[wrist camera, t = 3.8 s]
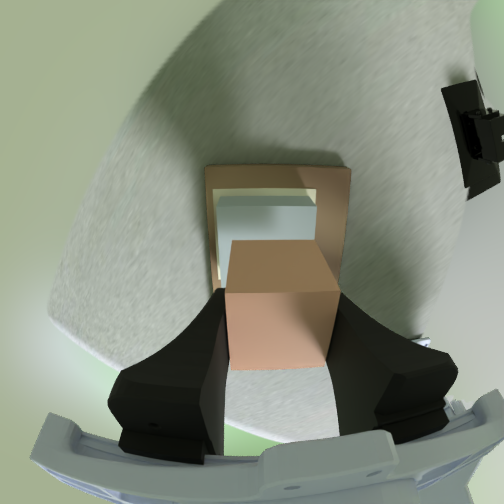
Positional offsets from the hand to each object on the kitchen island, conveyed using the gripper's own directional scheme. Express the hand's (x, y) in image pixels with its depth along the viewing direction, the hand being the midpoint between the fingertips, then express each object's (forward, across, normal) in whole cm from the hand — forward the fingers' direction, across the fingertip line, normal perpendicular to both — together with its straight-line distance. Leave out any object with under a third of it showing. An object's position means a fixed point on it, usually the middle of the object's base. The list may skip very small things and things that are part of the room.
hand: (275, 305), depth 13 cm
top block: (+2, 0, 0) cm, 2 cm away
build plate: (+10, -19, -10) cm, 24 cm away
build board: (+9, -1, +2) cm, 10 cm away
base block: (+8, 0, 0) cm, 8 cm away
